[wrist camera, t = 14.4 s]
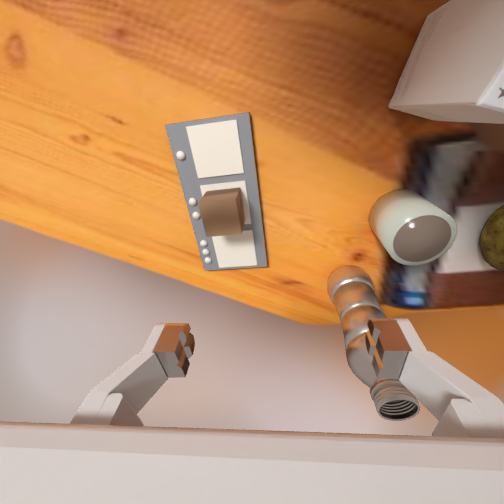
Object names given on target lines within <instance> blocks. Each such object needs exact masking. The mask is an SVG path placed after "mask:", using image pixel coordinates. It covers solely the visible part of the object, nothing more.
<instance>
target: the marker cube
mask: <svg viewBox="0 0 504 504" xmlns="http://www.w3.org/2000/svg"><path fill="white" fill-rule="evenodd" d="M198 205H199V209H200V213H201V217H202V221H203V225H204V229H205V233H206V237H213V236H225V235H237V234H242V231H243V227H244V223H245V214H244V208H243V201H242V195H241V189H240V187H239V188H230V189H221V190H212V191H206V193H205V194H204V195H203V197H202V198H201V199H200V201H199V202H198Z"/></svg>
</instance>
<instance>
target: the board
mask: <svg viewBox="0 0 504 504" xmlns="http://www.w3.org/2000/svg"><path fill="white" fill-rule="evenodd" d="M165 127H166V130H167V134H168V138H169V141H170V145H171V149H172V152H173V156H174V160H175V163H176V167H177V171H178V174H179V178H180V181H181V185H182V189H183V192H184V196H185V200H186V203H187V207H188V211H189V214H190V218H191V222H192V225H193V229H194V233H195V236H196V240H197V244H198V247H199V251H200V255H201V258H202V262H203V266H204V269H205V271H208V270H223V269H239V268H254V267H267V256H266V248H265V239H264V231H263V222H262V214H261V206H260V197H259V189H258V180H257V172H256V163H255V155H254V147H253V138H252V130H251V121H250V113H249V112H248V113H241V114H234V115H228V116H221V117H214V118H207V119H200V120H194V121H187V122H180V123H173V124H167V125H165ZM239 187H240V189H241V195H242V201H243V208H244V214H245V223H244V227H243V231H242V234H237V235H225V236H213V237H206V233H205V229H204V225H203V221H202V217H201V213H200V209H199V205H198V202H199V201H200V199H201V198H202V197H203V195H204V194H205V193H206V191H212V190H221V189H230V188H239Z"/></svg>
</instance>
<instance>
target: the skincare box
mask: <svg viewBox="0 0 504 504" xmlns="http://www.w3.org/2000/svg"><path fill="white" fill-rule="evenodd" d="M388 108H390V109H394V110H397V111H401V112H405V113H408V114H412V115H416V116H419V117H423V118H427V119H430V120H434V121H447V122H473V123H495V124H504V0H450V1H448V2H447V3H445V4H444V5H442V6H441V7H439V8H438V9H436V10H435V11H433V12H432V13H430V14H428V16H427V18H426V20H425V22H424V24H423V26H422V29H421V31H420V33H419V36H418V38H417V40H416V42H415V45H414V47H413V49H412V52H411V54H410V56H409V58H408V61H407V63H406V65H405V68H404V70H403V72H402V75H401V77H400V79H399V82H398V84H397V87H396V90H395V92H394V95H393V97H392V99H391V101H390V103H389V105H388Z"/></svg>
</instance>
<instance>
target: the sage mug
mask: <svg viewBox="0 0 504 504" xmlns="http://www.w3.org/2000/svg"><path fill="white" fill-rule="evenodd" d="M368 221H369V226H370V228H371V229H372V231H373V232H374V234H375V235H376V236H377V238H378V239H379V241H380V242H381V243H382V245H383V246H384V247H385V249H386V250H387V252H388V253H389V254H390V256H391V257H392V258H393V259H394V260H395V261H397V262H399V263H401V264H404V265H422V264H426V263H429V262H431V261H433V260H435V259H437V258H439V257H440V256H442V255H443V254H444V253H445V252H446V251H447V250H448V249H449V248H450V247H451V246H452V244H453V242H454V240H455V238H456V234H457V226H456V223H455V221H454V219H453V218H452V217H451V216H450V215H449V214H447V213H446V212H444V211H443V210H441V209H440V208H438V207H437V206H435V205H434V204H432V203H431V202H429V201H428V200H426V199H425V198H423V197H422V196H420V195H419V194H417V193H416V192H414V191H411V190H407V189H399V190H394V191H391V192H389V193H387V194H385V195H383V196H382V197H380V198H379V199H378V200H377V201H376V202H375V203H374V205H373V206H372V208H371V210H370V213H369V218H368Z"/></svg>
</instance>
